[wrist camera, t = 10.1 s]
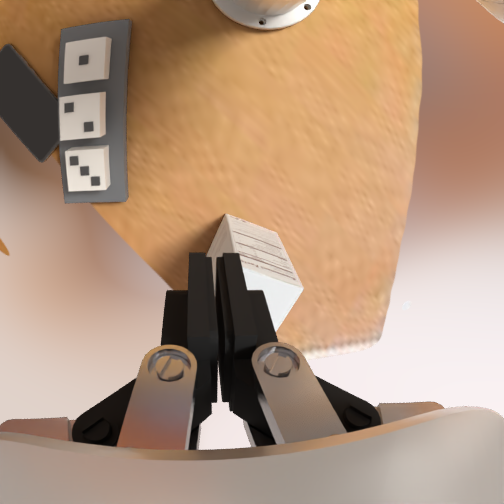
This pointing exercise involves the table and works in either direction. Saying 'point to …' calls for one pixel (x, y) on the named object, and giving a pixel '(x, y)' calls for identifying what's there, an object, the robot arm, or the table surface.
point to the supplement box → (259, 263)
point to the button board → (114, 108)
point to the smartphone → (27, 105)
